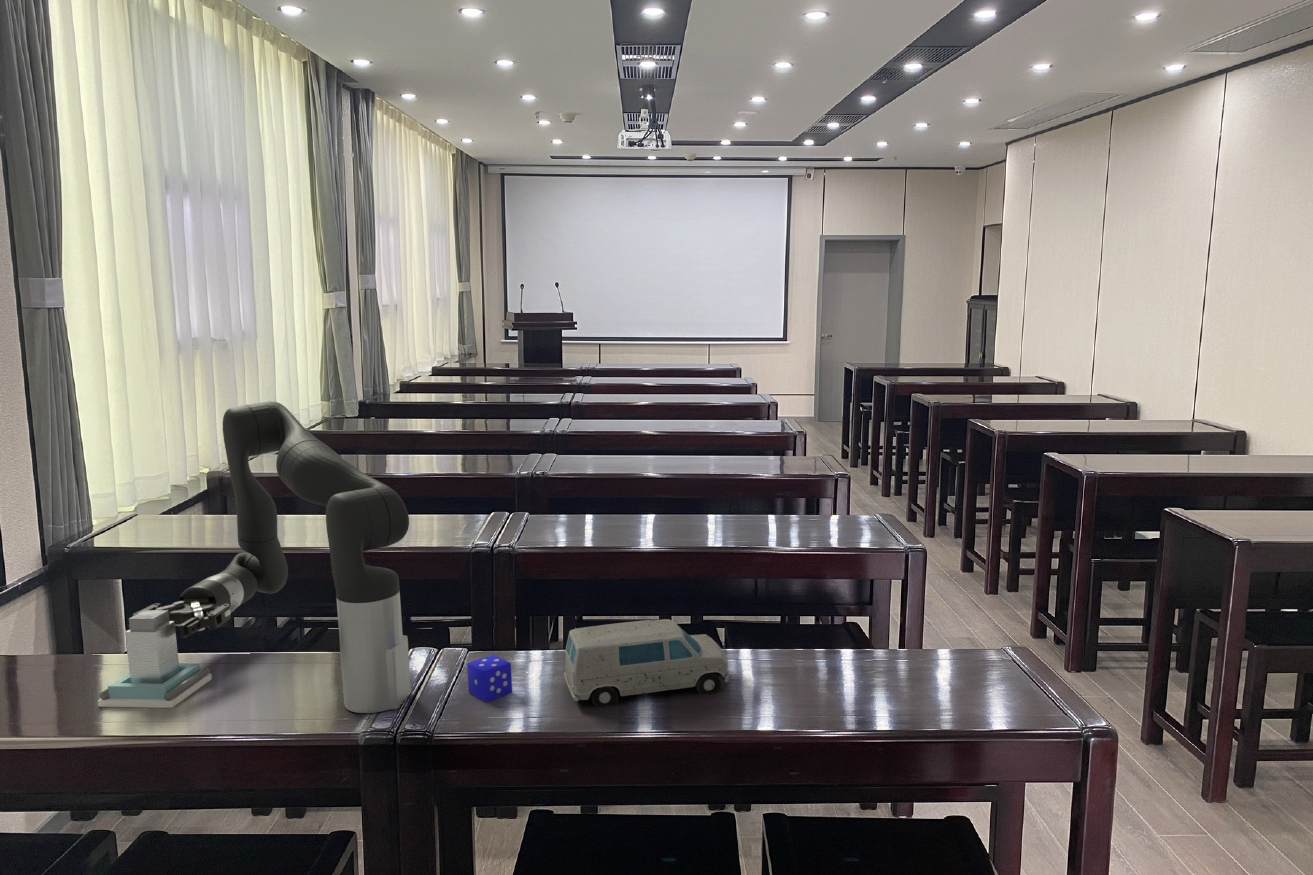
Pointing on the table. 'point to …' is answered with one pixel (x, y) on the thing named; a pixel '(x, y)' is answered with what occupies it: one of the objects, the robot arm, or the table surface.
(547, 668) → the table surface
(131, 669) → the stepped metal tower
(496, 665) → the die
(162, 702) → the tray
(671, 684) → the toy car
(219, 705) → the table surface
